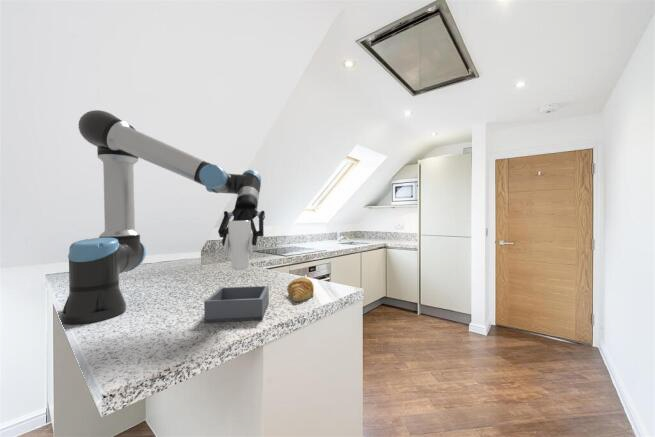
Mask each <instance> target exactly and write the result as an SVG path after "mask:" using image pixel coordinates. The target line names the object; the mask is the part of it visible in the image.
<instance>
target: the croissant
mask: <svg viewBox="0 0 655 437" xmlns="http://www.w3.org/2000/svg"><path fill="white" fill-rule="evenodd" d="M314 288H315V287H314V284H313V281H312V280H311V279H309V278H307V277H303V276H302V277H298V278H295V279H293V280H292V281H290V282H289V283H288V285H287V288H286V291H287V293H288V296H290V298H291V299H292V301H293V302H295V303H297V302H298V303H299V302H302V301H304V300H307V299H310V298H312V297H314Z"/></svg>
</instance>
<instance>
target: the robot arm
mask: <svg viewBox="0 0 655 437" xmlns="http://www.w3.org/2000/svg"><path fill="white" fill-rule="evenodd" d="M78 130H79V134H80V135H81V136H82V138H83V139H84V140H85V141H87V142H88V143H89V144H91V145H93V146H96V147H97V148H96V150H97V151H96V152H97V158H98V159H99V160H100V161H101V162H102V163H103V164H102V166H103V169H102V170H103V203H104V204H103V205H104V206H103V207H104V208H103V209H104V210H103V211H104V215H103V216H104V231H103V232H102V233H101V234H100V235H99V236H98V237H94V238H87V239H86V238H85V239H81V240H78V241H74V242H72V243H71V244H70V246H69V249H68V250H69V251H68V255H67V258H68V277H69V278H68V284H69V292H68V296H67V299H66V301H65V303H64V305H63V308H62V311H61V313H60V314H61V315H60V321H61V323H62V324H64V325H65V324H66V325H77V324H79V325H81V324H89V323H94V322H95V323H96V322H99V321H102V320H103V321H104V320H107V319H111V318H114V317H116V316H119V315H122V314H123V313H125V312H126V310H127V304H126V303H127V302H126V300H125V299H124V296H123V293H122V291H121V289H120V276H119V275H120V274H122V273H123V274H124V273H127V272H130V271H133V270H135V269H136V268H137V267H139V266H140V265H141V264H143V262H144V260H145V258H146V255H147V249H146V247H145V244H143V242H141V234H140V232H138V231H137V230H136V226H135V225H136V224H135V223H136V222H135V221H136V220H135V188H134V186H135V184H134V181H135V180H134V179H135V178H134V165H135V164H137V163H138V162H139V158H140V159H141V160H144V161H146V162H149V163H151V164H153V165H156V166H157V167H161V168H163V169H164V170H167V171H169V172H172V173H175V174H177V175H179V176H182V177H183V178H186V179H189V180H191V181H192V182H195V183H197V184H200V185H202V186H204V187H205V189H206V192H209V193H215V194H218V193H219V194H229V195H230V194H235V195H237V196H236V201H235V204H234V209H232V211H229V212H228V211H227V210H225V211H224V212H223V218H222V220H221V223H220V225H219V228H218V230H217V232H218V236H219V238H222V241H221V242H222V245H223V250H222V251H223V254H224V256H225V257H226V256H227V257H228V255H229V251H230V244H229V234H228V223H229V221H230V220H231V218H232V217H233V219H232V220H231V221H251V235H250V239H249V246H248V252H249V256H252V255H253V249H254V248H253V247H254V246H256V245H257V244H258V238H259V237H261V238H263V237H264V220H265V218H266V214H265V213H266V212H265V210H261V211H258V206H259V204H258V203H259V199H260V192H261V186H262V177H261V175H260V173H259V172H257V171H256V170H253V169H248V170H245V171H244V172H242V174H236V173H235V174H234V173H227V172H226V171H225V170H224V169H223V167H222V166H219V165H216V164H212V163H211V162H207V161H205V160H203V159H200V158H199V157H197V156H194V155H192V154H190V153H188V152H185V151H183V150H180V149H179V148H176V147H174V146H171V145H169V144H167V143H165V142H163V141H162V140H161V141H160V140H158V139H156V138H154V137H151V136H150V135H147V134H145V133H143V132H141V131H138V130H137V129H136V128H134V127H133V125H130V124H129V123H127V121H124V120H122V119H120V118H118V117H117V116H115V115H114V114H112V113H110V112H108V111H104V110H99V109H98V110H97V109H96V110H95V109H94V110H90V111H87V112H85V113H83V114H82V116H80V118H79V120H78ZM256 217H257V218H258V230H257V228H256V225H255V222H254V219H255V218H256Z"/></svg>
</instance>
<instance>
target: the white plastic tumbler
mask: <svg viewBox="0 0 655 437" xmlns="http://www.w3.org/2000/svg"><path fill="white" fill-rule="evenodd" d="M227 227H228V234H229V244H230V247H229V251H230V252H229V253H230V254H229V255H230V267H231V269H232V270H234V271H235V270H239V271H241V270H248V268H250V255H249V252H248V246H249V239H250V235H251V233H252V230H251V221H232V220H229V223H228V226H227Z"/></svg>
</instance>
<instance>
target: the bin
mask: <svg viewBox="0 0 655 437" xmlns="http://www.w3.org/2000/svg"><path fill="white" fill-rule="evenodd" d="M269 287H270V286H269V285H253V286H250V285H249V286H247V285H246V286H225V287H224V286H223V287H220V288H218V289H217V290H216V291H214V293H212V294H211V295H210V296H209V297H208V298H207V299H206V300H204V301H203V304H204V309H203V311H204V314H203V315H204V323H205V324H207V323H208V324H209V323H228V322H246V321H247V322H248V321H249V322H251V321H253V322H254V321H264V317H265V314H266V312H267V309H268V307H269V303H270V298H269V296H270V291H269V290H270V289H269Z"/></svg>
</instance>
